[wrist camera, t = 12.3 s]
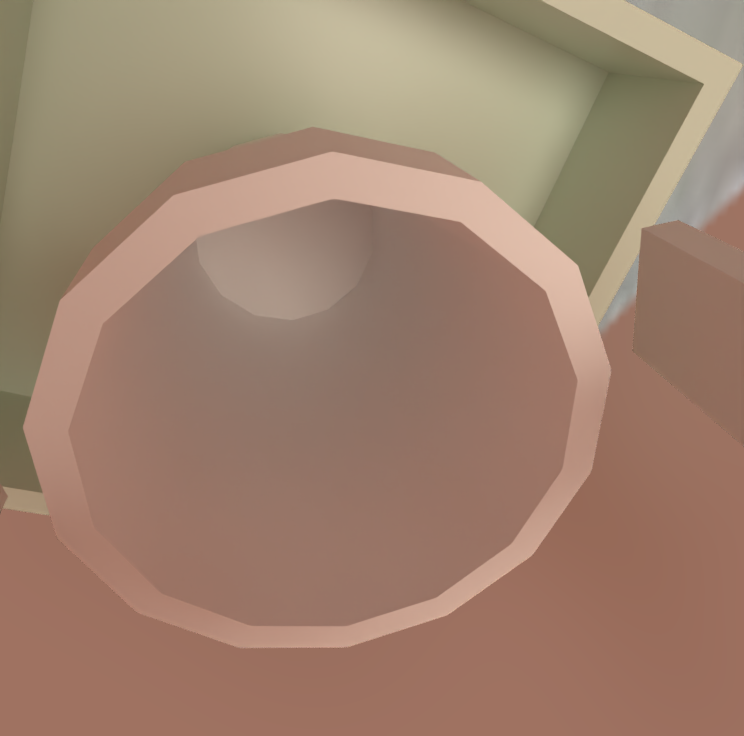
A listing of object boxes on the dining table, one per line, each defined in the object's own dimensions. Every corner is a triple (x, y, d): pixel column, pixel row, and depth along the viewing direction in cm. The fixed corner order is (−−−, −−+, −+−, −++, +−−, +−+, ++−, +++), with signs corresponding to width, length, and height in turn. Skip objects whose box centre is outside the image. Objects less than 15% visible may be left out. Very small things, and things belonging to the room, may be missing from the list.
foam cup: (116, 81, 19) (-58, 165, 8) (422, 76, 20) (656, 140, 9) (165, 366, 23) (102, 687, 12) (413, 345, 25) (563, 611, 14)
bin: (-42, 385, 23) (-121, 489, 18) (42, -238, 16) (-49, -363, 11) (417, 479, 29) (457, 577, 24) (624, 55, 22) (743, 64, 17)
